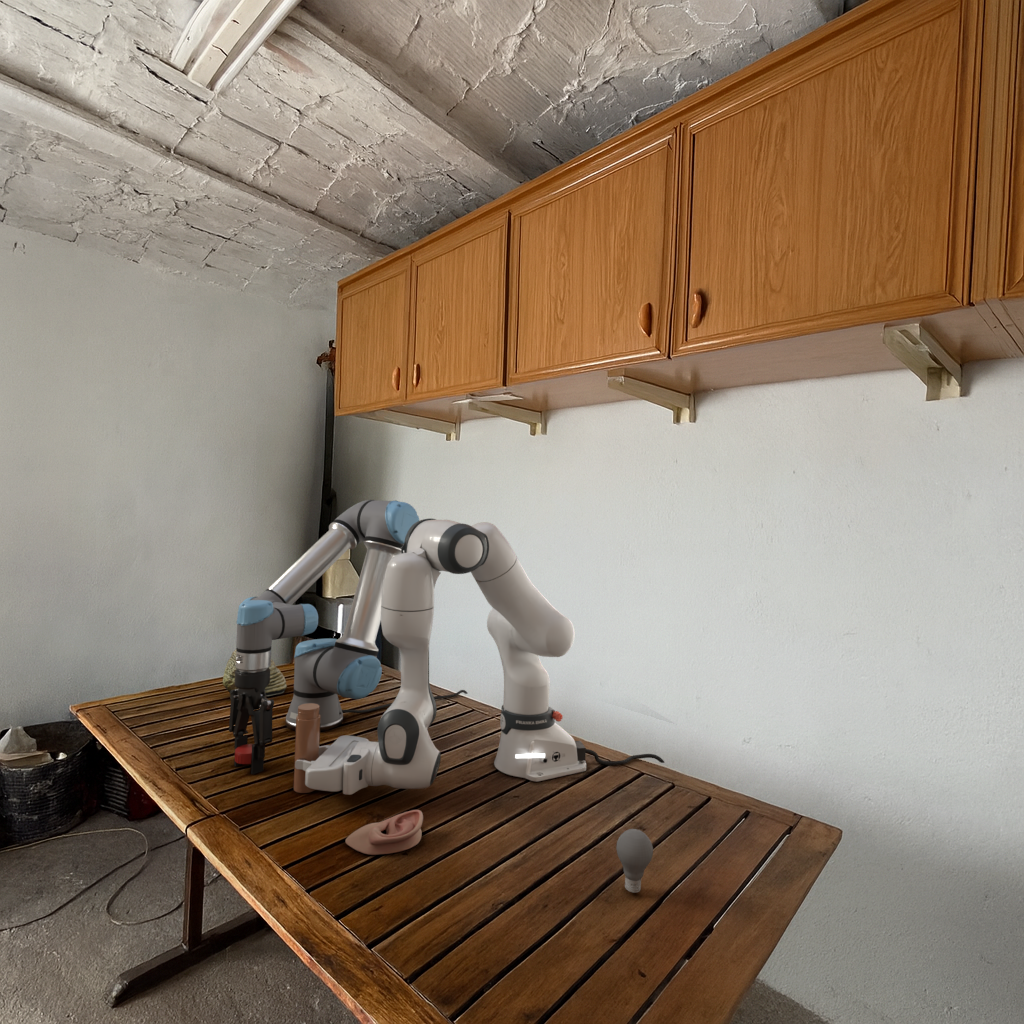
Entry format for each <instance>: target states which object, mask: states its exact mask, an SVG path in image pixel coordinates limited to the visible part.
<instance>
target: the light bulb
mask: <svg viewBox="0 0 1024 1024" xmlns="http://www.w3.org/2000/svg"><path fill="white" fill-rule="evenodd" d="M615 849H616V854H617V857H618V859H619V861H620V863H621V865H622V867H623V873H624V874H623V875H624V876H625V878H624V888H625V890H627V891H628V892H630V893H634V894H635V893H639V892H640V891H641V889H642V887H641V886H642V879H643V877H644V875H645V871H646V868H647V867H648V866H649V864H650V863H651V861H652V859H653V855H654V847H653V843H652V841H651V838H649V836H648V835H647V834H646V833H645V832H643V831H642V830H641V829H636V828H629V829H627V830H625V831H623V832H622V833H621V834H620V835H619V837H618V839H617V841H616V847H615Z"/></svg>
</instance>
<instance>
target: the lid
mask: <svg viewBox="0 0 1024 1024" xmlns="http://www.w3.org/2000/svg"><path fill="white" fill-rule="evenodd" d="M252 744H253V743H247V744H246V745H242V746H239V747H237V748H236V750H235V749H234V756H235V762H236V763H239V764H243V765H251V756H252Z"/></svg>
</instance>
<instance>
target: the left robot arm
mask: <svg viewBox="0 0 1024 1024" xmlns="http://www.w3.org/2000/svg"><path fill="white" fill-rule="evenodd" d="M418 521H420V516H419V515H418V512H417V510H416V509H415V507H414V506H413V505H411V504H410V503H408V502H405V501H399V500H381V499H379V500H378V499H366V500H365V499H364V500H362V501H360V502H357V503H355V504H354V505H352V506H350V507H348V508H347V509H346V510H344V511H343V512H342V513H340V515H338V516H337V517H336V518H335V519H334V520H333V521H332V522H331V523H330V524H329V525H328V531H326V533H324V534H323V535H322V536H321V537H320V538H319V539H318V540H317V541H316V542H315V543H314V544H313V545H311V547H309V548H308V549H307V550H306V551H305V552H304V553H303V554H302V555H301V556H300V557H299V558H298V559H297V560H296V561H295V562H294V563H292V564H291V566H290V567H289V568H288V569H286V570H285V571H284V572H283V573H282V574H280V576H279V577H278V578H276V580H274V582H272V583H271V585H269V586H268V587H267V588H266V589H265V590H264V591H263V592H262V593H261V594H260V595H258V596H250V597H248V598H245V599H244V600H243V601H242V602H241V603H240V604H239V605H238V609H237V617H236V641H235V642H236V645H235V647H236V648H235V650H236V668H237V670H236V671H235V686H236V687H237V688H239V689H235V690H231V691H230V692H229V697H230V696H231V698H230V709H229V721H228V732H229V733H232V735H233V737H234V747H233V748H234V751H235V750H236V748H237V747H239V746H242V745H246V744H248V740H249V735H247V734H249V731H248V730H247V728H248V723H249V720H251V726H252V733H253V741H254V743H251V744H252V756H251V764H250V775H256V774H259V773H262V772H263V771H264V764H265V756H266V745H268V744H270V743H273V709H274V706H275V700H274V699H269V698H267V696H266V693H265V688H266V686H267V685H269V683H270V669H269V667H270V666H271V659H272V644H273V641H275V640H281V639H288V638H289V639H290V638H295V637H303V636H306V635H309V634H313V633H314V632H315V631H316V630H317V627H318V625H319V614H318V611H317V609H316V607H315V606H314V605H313V604H310V603H299V604H294V603H295V602H297V600H298V599H300V598H301V597H302V595H304V593H306V592H307V591H308V590H309V589H310V588H311V587H312V586H313V585H314V584H315V583H316V582H317V581H318V580H319V579H320V578H321V577H322V576H323V575H324V574H325V573H326V572H327V571H329V569H330V568H331V567H332V566H333V565H334V564H335V563H336V562H337V561H338V560H339V559H340V558H341V557H342V556H343V555H344V554H345V553H346V552H347V551H348V550H354V549H355V548H357V546H358V545H360V544H361V543H362V542H363V545H364V546H365V548H366V553H365V556H364V559H363V564H362V567H361V571H360V575H359V578H358V581H357V584H356V585H357V586H356V588H355V591H354V596H353V600H352V603H351V606H350V610H349V613H348V617H347V621H346V624H345V628H344V630H343V634H342V636H340V637H339V638H338V639H337V638H331V637H329V638H317V639H316V638H315V639H308V640H304V641H300V642H299V643H298V644H297V645H296V646H295V650H294V651H295V652H294V655H293V658H294V672H293V673H294V674H293V695H292V696H293V697H292V699H291V702H290V704H289V708H288V711H287V713H286V715H285V726H286V728H287V729H289V730H291V731H294V732H296V717H297V715H298V706H300V705H302V704H307V703H314V704H318V705H319V706H320V709H319V714H320V715H321V719H320V732H325V731H329V730H332V729H335V728H337V727H339V726H340V725H342V723H343V722H344V713H347V714H349V713H351V714H353V713H354V714H365V713H369V712H374V711H378V710H380V709H385V708H389V707H390V706H391V704H392V703H393V702H391V703H386V704H382V705H378V706H375V707H371V708H366V709H342V706H341V702H340V699H339V696H341V697H342V698H345V699H351V700H360V699H365V698H366V697H368V696H369V695H370V694H372V693H373V692H374V690H376V688H377V687H378V685H379V683H380V681H381V678H382V674H383V667H382V666H381V661H380V659H378V653H379V648H378V647H377V645H376V640H377V635H378V632H379V629H380V625H381V598H382V588H383V582H384V577H385V572H386V568H387V564H388V562H389V561H390V560H391V559H392V558H393V557H394V556H396V555H399V554H402V553H401V548H402V546H403V544H404V541H405V537H406V534H407V532H408V530H409V529H410V527H411V526H412V525H413V524H414V523H416V522H418ZM403 553H404V550H403ZM462 693H464V695H467V694H468V692H467V690H465V689H460V690H458V691H457V692H455V693H451V694H447V695H437V696H433V697H434V699H435V700H441V699H449V698H454V697H457V696H459V695H460V694H462ZM242 765H243V766H244V764H239V763H236V762H235V755H234V759H233V766H234V767H239V766H242Z"/></svg>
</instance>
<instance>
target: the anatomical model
mask: <svg viewBox="0 0 1024 1024" xmlns="http://www.w3.org/2000/svg"><path fill="white" fill-rule="evenodd" d="M423 814H424V813H423V812H422V810H420V809H411V810H409V811H404V812H401V813H398V814H396V815H393V816H391V817H388V818H387V819H385V820H382V821H380V822H371V823H368V824H365V825H363V826H361V827H359V828H357V829H356V830H355V831H353V832H352V833H351V834H349V835H348V836H347V837H346V838H345V842H344V843H345V844H346V845H347V846H349V847H350V848H351V849H353V850H355V851H357V852H360V853H362V854H365V855H368V856H369V855H370V856H376V855H387V854H393V853H399V852H403V851H406V850H409V849H411V848H413V847H415V846H416V845H418V844H419V843H420V841H421V840H422V835H423V834H422V832H423V831H422V828H421V827H422V826H423V822H424V815H423Z"/></svg>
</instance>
